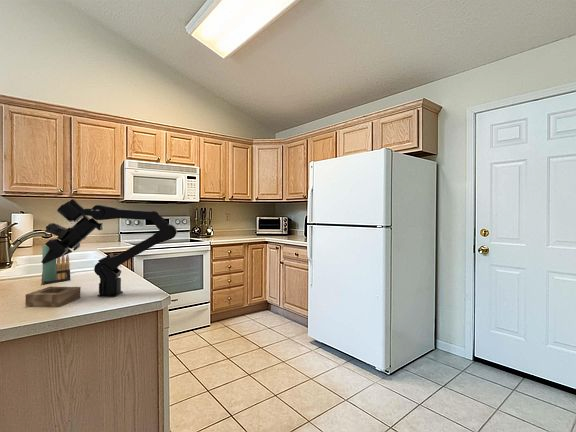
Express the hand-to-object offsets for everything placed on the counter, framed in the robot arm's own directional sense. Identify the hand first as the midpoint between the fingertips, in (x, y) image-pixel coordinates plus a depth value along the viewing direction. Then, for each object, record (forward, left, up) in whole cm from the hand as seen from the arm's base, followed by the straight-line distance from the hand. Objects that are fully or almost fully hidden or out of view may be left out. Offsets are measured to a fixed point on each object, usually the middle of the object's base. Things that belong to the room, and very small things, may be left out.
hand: (44, 262), depth 113 cm
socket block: (-6, +4, -13) cm, 15 cm away
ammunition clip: (+14, -26, -13) cm, 32 cm away
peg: (-1, 0, -7) cm, 7 cm away
